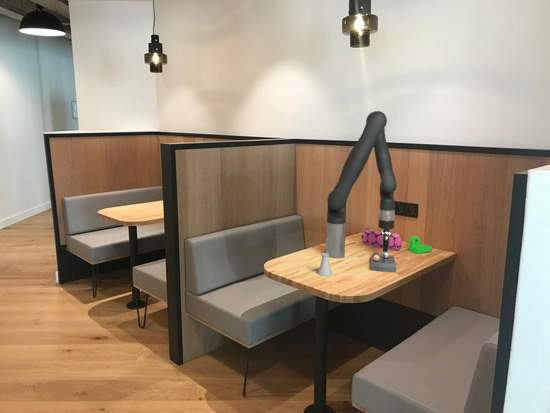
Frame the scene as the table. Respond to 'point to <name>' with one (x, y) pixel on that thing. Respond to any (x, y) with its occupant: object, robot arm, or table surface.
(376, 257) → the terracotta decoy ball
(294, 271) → the table surface
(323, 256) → the flask
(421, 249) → the mechanical part
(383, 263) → the grey ball holder tray
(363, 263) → the table surface
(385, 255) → the steel ball
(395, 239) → the pencil case
